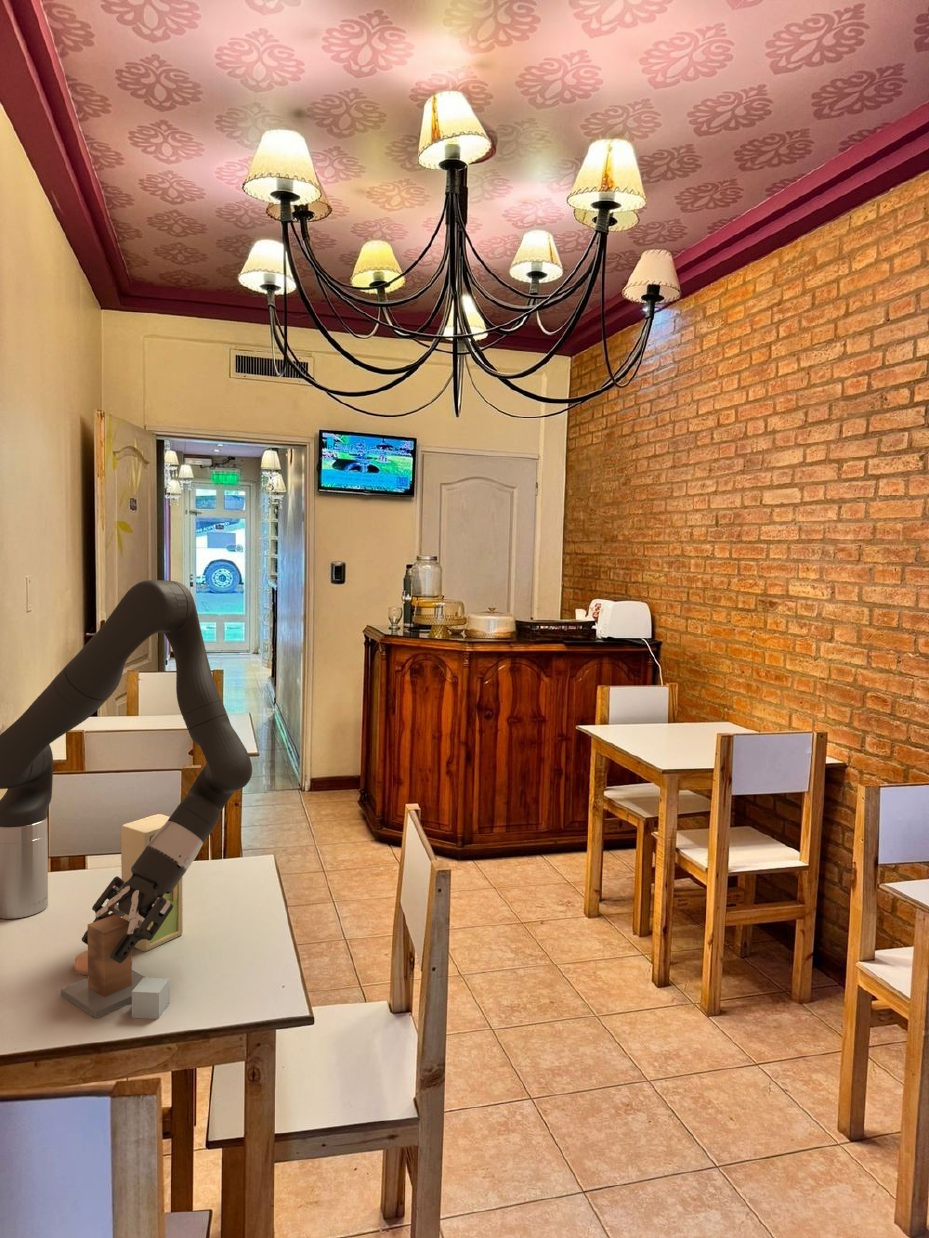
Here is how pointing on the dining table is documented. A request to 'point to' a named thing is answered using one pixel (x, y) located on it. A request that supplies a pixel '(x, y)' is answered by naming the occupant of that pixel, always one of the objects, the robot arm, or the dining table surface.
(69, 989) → the slate coaster
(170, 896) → the toy refrigerator
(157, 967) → the dining table surface
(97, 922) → the walnut block
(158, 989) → the grey cube
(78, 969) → the orange disc
